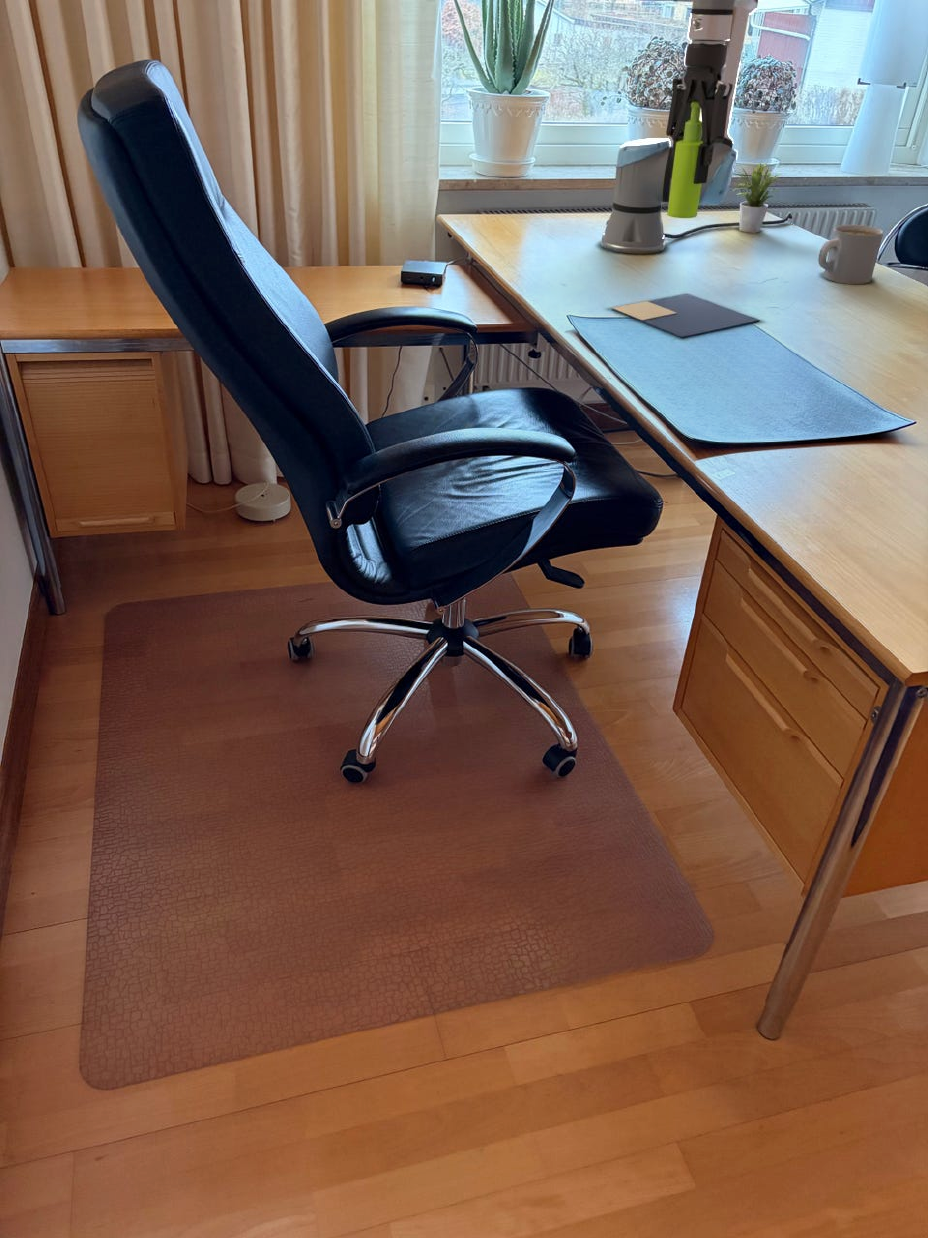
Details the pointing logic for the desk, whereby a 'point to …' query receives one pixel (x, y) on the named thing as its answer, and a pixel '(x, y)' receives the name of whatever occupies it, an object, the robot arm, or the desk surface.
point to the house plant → (754, 200)
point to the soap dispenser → (686, 169)
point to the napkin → (684, 315)
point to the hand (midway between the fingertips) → (688, 179)
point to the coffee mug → (851, 254)
